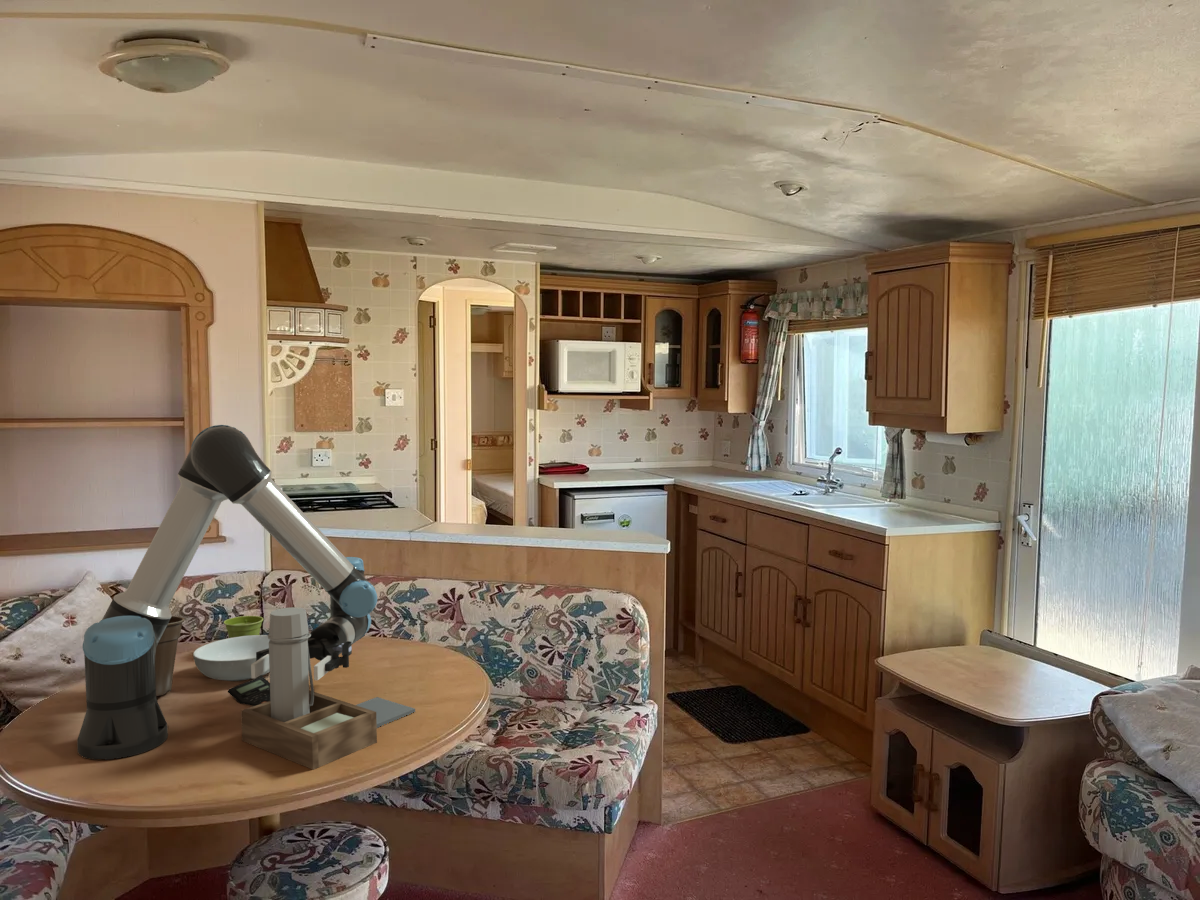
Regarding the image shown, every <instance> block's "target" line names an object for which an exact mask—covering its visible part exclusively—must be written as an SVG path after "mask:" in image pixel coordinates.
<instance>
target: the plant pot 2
mask: <svg viewBox="0 0 1200 900" xmlns="http://www.w3.org/2000/svg"><path fill="white" fill-rule="evenodd" d="M263 621H264V617H262V616H259V615H243V616H235V617H232V618H231V617H230V618H228V619H225V620H223V624H224V625H223V626H225V628H226V631H227V635H228V638H234V637H240V636H251V635H260V633H261V627H262V623H263Z"/></svg>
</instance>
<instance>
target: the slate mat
mask: <svg viewBox="0 0 1200 900" xmlns="http://www.w3.org/2000/svg"><path fill="white" fill-rule="evenodd" d="M355 705H356V706H359V707H363V708H366V709H369V710H372V711H375V712H376V723H377V729H378V728H381V727H383V726H385V725H384V724H386V725H388V724H390V723H389V722H391V723H393V722H395V721H394V720H396V721H397V719H398V720H400V719H402V718H401V717H403V718H405V717H407V716H406V715H408V716H409V714H410V715H412V714H411V713H413V712H415V713H416V708H414V707H411V706H407V705H406V704H401V703H397V702H395V701H391V700H388V699H385V698H382V697H379V696H376V697H373V698H371V699H367V700H365V701H363V702H360V703H357V704H355ZM413 714H414V713H413ZM404 716H405V717H404ZM399 718H400V719H399ZM392 721H393V722H392ZM387 723H388V724H387ZM382 725H383V726H382ZM380 726H381V727H380Z"/></svg>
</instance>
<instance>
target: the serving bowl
mask: <svg viewBox="0 0 1200 900" xmlns="http://www.w3.org/2000/svg"><path fill="white" fill-rule="evenodd" d="M268 635H269V634H259V635H251V636H240V637H234V638H229V637H228V638H223V639H219V640H215V641H212V642H210V643H207V644H205V645H204V644H203V645H202V646H199V647H198V648H196V649H195V650H194V651H193V654H192V657H193V662H194V664H195V667H196V668H197V669H198V671H199V672H200V673H201V674H203V675H204V676H205V677H207V678H210V679H213V680H219V681H228V682H241V681H246V680H247V681H248V680H253V678H251V664H253V663H254V662H255V661H256V652H258V651H262V650H265V649H268V648H269V641H270V640H269V639H268ZM268 673H270V669H268V670H267V671H265V672H264V673H263V674H261V675H260V676H259V677H261V676H264V675H266V674H268Z"/></svg>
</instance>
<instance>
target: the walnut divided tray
mask: <svg viewBox="0 0 1200 900" xmlns="http://www.w3.org/2000/svg"><path fill="white" fill-rule="evenodd" d="M310 700H311V689H309V704H310ZM356 705H357V704H353V703H350V702H348V701H347V702H346V701H343V700H341V699H337V698H336V697H335V698H334V697H332V696H328V695H325V694H321V693H319V692H316V691H314V701H313V705H312V706H310V707H309V709H310V713H309V714H306V715H303V716H300V717H298V718H295V719H292V720H289V721H286V722H282V721H279V720H277V719H274V718H271V701H268V702H265V703H262V704H259V705H256V706H250V707H247V708H245V709H242V710H241V711H240V712H241V740H242V742H244V743H246V742H247V743H246V744H249V745H251V744H252V746H254V747H256V746H257V747H256V748H259V749H262V750H264V751H267V752H269V753H271V754H273V755H276V756H279V757H281V758H284V759H286V760H288V761H291V762H293V763H296V764H298V765H301V766H302V767H306V768H308V769H311V770H313V771H314V770H315V769H318V768H321V767H322V766H325V765H327V764H330V763H333V762H335V761H337V760H339V759H341V758H344V757H346V756H348V755H351V754H353V753H355V752H358V751H360V750H362V749H364V748H367V747H369V746H373V745H374V744H377V743H378V736H377V735H378V734H377V733H378V731H377V730H378V728H377V723H376V712H375V711H372V710H369V709H366V708H363V707H359V706H356ZM335 713H340V714H343V715H347V716H350V717H354V718H352V719H349V720H346V721H344V722H341V723H339V724H336V725H334V726H331V727H328V728H326V729H323V730H321V731H318V732H315V733H312V732H309V731H306V730H304V729H301V728H302V727H304V726H307V725H309V724H312V723H314V722H316V721H319V720H321V719H323V718H326V717H328V716H331V715H333V714H335Z"/></svg>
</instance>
